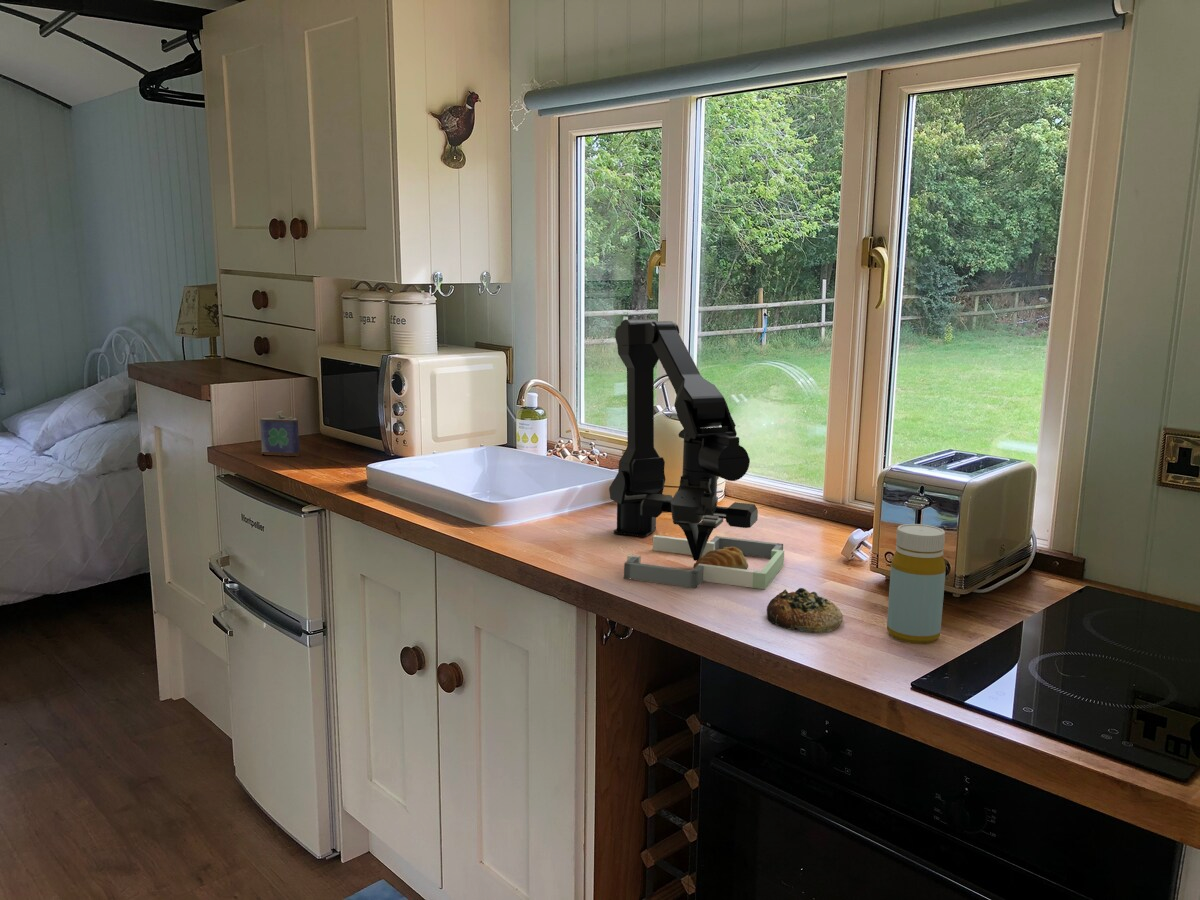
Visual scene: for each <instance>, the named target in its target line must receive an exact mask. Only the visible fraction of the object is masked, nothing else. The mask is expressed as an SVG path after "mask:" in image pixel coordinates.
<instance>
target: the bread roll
mask: <svg viewBox="0 0 1200 900" xmlns="http://www.w3.org/2000/svg"><path fill="white" fill-rule="evenodd" d="M766 616H767V620H768V622H770V623H772V624H773V625H777V627H781V628H784V629H788V630H792V631H794V630H795V629H796V628H797V629H798V630H799V631H800V632H805V633H816V634H818V633H819V634H821V633H822V634H823V633H831V632H833V631H834V630H836V629H837V628H838V627H839V626H840V624H842V622H843V619H844V618H843V617H844V615H843V613H842V611H841V609H840V608H839V607H838V606H837V605H836V604H835V603H834V602H832V601H831V600H829V599H828V598H825V597H823V596H820V595H819V594H818V593H817V592H816V591H811V592H809V591H808V590H807V589H806V588H804V587H799V588H798V589H797V590H796V591H791V592H788V591H787V589H784V590H783V591H782V592H779V594H777V595H776V596H774V597H773V598H772V599H771V600H770V601H769V603H768V604H767V606H766Z"/></svg>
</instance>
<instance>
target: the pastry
mask: <svg viewBox="0 0 1200 900" xmlns="http://www.w3.org/2000/svg"><path fill="white" fill-rule="evenodd" d="M699 563H700V564H707V565H715V566H723V567H731V568H738V569H746V570H748V569H749V564H748V562H747V559H746V557H745V555H743V552H742V551H741V550H740V549H738V548H736V547H724V548H723V549H717V550H713V551H709V552H707V553H706V555H704V556H701V558H700V559H699V560H698V561H695V563H693V566H692V567H693V569H694V568H695V567H696V566H697V565H698V564H699ZM693 569H692V570H693Z"/></svg>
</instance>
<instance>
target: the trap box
mask: <svg viewBox="0 0 1200 900" xmlns="http://www.w3.org/2000/svg"><path fill="white" fill-rule="evenodd" d="M724 547H736V548H738V549H740V550H741V551H742V552H743V555H744V556H749V557H757V558H758V557H759V558H768V559H769V561H768V562H767V563H766V565H764V567H763V568H762V569H761V570H760V571H759V570H752V569H738V568H731V567H723V566H715V565H707V564H700V563H699V564H698V565H697V566H696V567H695V568H694V569H685V568H677V567H668V566H662V565H661V566H660V565H654V564H647V563H641V561H642V560H641V555H637V554H628V555H627V556H626V561H625V562H624V563H623V579H625V578H631V579H630V580H632V579H636V580H635V581H639V580H642V581H641V582H647V581H648V582H649V583H654V584H661V585H669V586H676V587H684V588H691V589H697V588H698V587H699V586H700V585H701V584H702V583H703V582H709V583H716V584H721V585H722V584H723V585H729V586H730V585H732V586H738V587H747V588H751V589H761V590H766V589H767V587H768V586H770V584H771V582H772V581H773V580H774V579H775V577H776V576H777V574H778V573H779V572H780V570H781V569H782V568H783V566H784V565H785V550H784V543H777V542H770V541H762V540H761V541H760V540H752V539H744V538H737V537H726V536H718V535H715V536H714V537H713V538H712V539H711V540H710V541H707V543H706V546H705V548H704V551H703V553H702V555H701V557H703V556H704V555H706V553H707V552H709V551H713V550H717V549H723V548H724ZM652 551H657V552H664V553H671V554H673V553H674V554H682V555H689V556H692V553H691V550H690V547H689V544H688V541H687V538H683V537H681V538H680V537H674V536H668V535H667V536H665V535H664V536H663V535H658V534H654V535H653V536H652Z"/></svg>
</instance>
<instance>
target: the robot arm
mask: <svg viewBox="0 0 1200 900" xmlns="http://www.w3.org/2000/svg"><path fill="white" fill-rule="evenodd" d="M614 334H615V336H614V338H615V342H616V344H617V345H616V346H617V355H618V357H619V358H620V359H621V361H622V363H623V364H624V366H625V368H626V405H627V406H626V409H627V410H626V414H627V415H626V417H627V418H626V421H627V424H626V425H627V426H626V428H627V435H626V437H627V438H626V439H627V442H626V443H627V447H626V449H625V450H624V452H623V453H622V456H621V457H620V459H619V460H618V472H617V474H616V476H615V478H614V479H613V481H612V482H611V484H610V486H609V488H608V490H609V491H608V492H609V499H610V500H611V501H613V502H616V528H615V529H614V530H613V534H615V535H623V536H624V535H626V536H633V537H641V538H646V537H648V536H649V535H651V534H652V533H653V532H655V531H656V530H657V518H658V517H660V515H662V514H663V512H665V513H671V519H672V523H673V525H677V526H679V528H680V529H681V530H682V531H683V533H684V535H685V537H686V538H685V539H687V541H688V544H689V547H690V550H691V553H692V555H691V556H692V558H693V561H695V562H696V561H698V560H699V559H700V558H701V557H702V556H701V555H702V553H703V551H704V548H705V546H706V543H707V541H708V540H709V539H710V536H711V534H712V533H713V530H714V529H717V527H719V526H720V525H721V524H723V522H724V519H725V522H726V524H728V526H729V527H734V528H740V529H742V528H743V529H748V528H749V529H750V528H751V527H753V525H754V524H756V522H757V521H758V518H759V517H758V516H759V511H758V507H757V506H756V504H754V503H746V502H745V503H744V502H736V501H735V502H733V503H732V504H730V505H729V506H727V507H726V506H719V505H718V502H719V501H718V499H719V496H717V495H718V493H717V492H718V480H719V479H720V478H721V479H723V480H726V481H729V482H735V481H738V480H740V479H742V478H743V477H745V475H746V474H747V471H748V470H749V467H750V460H751V459H750V456H749V453H748V452H747V451H748V450H747V449H745V447H744V446H742V445H740V437H739V436H737V431H736V423H735V421H734V419H733V417H732V415H731V412H730V408H729V406H728V403H727V401H726V398H725V397H724V396H723V394H722V393H721V392H720V390H719V389H718V388H717V385H715V384H713V383H712V382H711V381H708V380H706V379H705V378H704V377H703V376H702V375H701V374H702V373H700V370H699V369H698V367H697V365H696V363H695V360H693V358H692V356H691V354H690V352H689V350H688V349H687V346H686V345H685V343H684V340H683V339H682V336H681V335H680V329H679V324H678V323H676V322H673V321H671V320H667V321H666V320H665V321H658V319H655V318H652V319H651V318H647V319H646V318H645V319H644V318H643V319H642V318H641V319H634V318H633V319H623V320H622V321H621V323H620V325H618V326H617V327H616V328H615V333H614ZM658 362H660V364H661V366H662V367H663V369H664V371H665V373H666V376H667V377H668V379H669V381H670V382H669V383H671V385H672V387H673V390H674V392H675V394H676V396H675V401H674V405H673V407H674V409H675V412H676V416H677V419H678V421H679V423H680V424H681V426H682V427H683V429H682V430H680V431H679V433H678V437H679V438H680V439H683V451H682V452H683V453H682V455H683V456H682V475H681V476H680V480H679V486H678V489H677V491H676V492H675V494H674V495H672V494H663V492H664V489H665V488H664V487H665V483H666V475H665V467H666V466H665V464H666V462H665V459H664V457H662V456H660V455H659V453H658V452H657V450H656V449H655V421H654V419H655V417H654V416H655V405H654V403H655V400H654V399H655V398H654V397H655V396H654V395H655V394H654V393H655V392H654V390H655V388H654V386H655V385H654V383H655V381H654V380H655V379H654V378H655V377H654V375H655V374H654V373H655V372H654V370H655V367H656V365H657V364H658ZM708 542H709V541H708Z"/></svg>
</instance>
